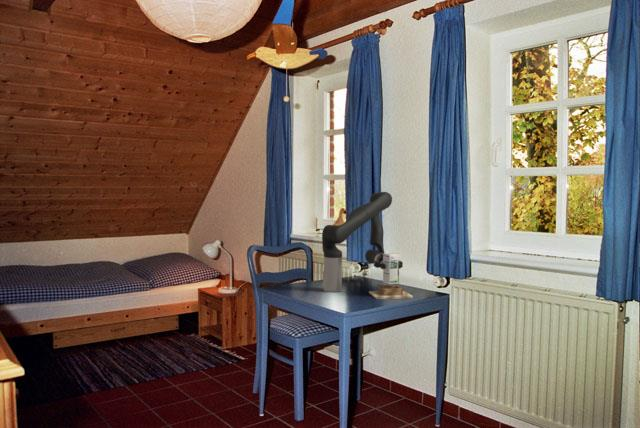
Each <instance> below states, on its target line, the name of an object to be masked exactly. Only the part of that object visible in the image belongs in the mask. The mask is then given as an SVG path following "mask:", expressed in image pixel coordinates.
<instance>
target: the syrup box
mask: <svg viewBox="0 0 640 428" xmlns="http://www.w3.org/2000/svg"><path fill="white" fill-rule="evenodd" d="M399 261H400V254H399V253H397V252H388V253H384V254H383V263H384V264H385V269H382V282H383V283H384V284H385V285H398V284H400V269H399Z"/></svg>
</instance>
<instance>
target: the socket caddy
mask: <svg viewBox="0 0 640 428" xmlns="http://www.w3.org/2000/svg"><path fill="white" fill-rule="evenodd" d="M377 287H378V288H377V289H378V290H369V291H368V293H369V295H371V296H372V297H373V298H374V299H375V300H383V299H384V300H388V299H393V300H395V299H413V298H414V297H413V295H411V294H410V293H409V292H407V291H405V290H404V288H403V287H401V286H399V285H398V284H390V285H389V284H385V285H383V284H382V285H381V284H380V285H378V286H377Z"/></svg>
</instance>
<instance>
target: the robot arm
mask: <svg viewBox="0 0 640 428" xmlns="http://www.w3.org/2000/svg"><path fill="white" fill-rule="evenodd" d="M392 202H393V196H392V195H391V193H389V192H388V191H387V192H386V191H381V192H374V193H372V194H371V196H370V197H369V202H367V203H364V204H361V205H360V206H358V207H356V208H354V209H353V210H352V211H350V213H349V214H348V216H347V220H346V221H345V222H344V223H342V224H340V225H336V224H335V225H334V224H327V225H325V226H324V227H323V229H322V231H321V232H322V233H321V240H322V241H321V243H322V247H321V248H322V252H323V270H322V290H323V292H327V293H329V292H330V293H339V292H341V291H342V290H343V284H342V283H343V281H342V279H343V277H342V276H343V272H342V271H343V269H342V268H343V252H342V250H341V249H339V248H338V247H337V245H338V244H342V243H343V242H344V241H346V240H347V239H348V238H349V237H350V236H351V235H352V234H353V233H354V232H355V231H357V230H358V229H359V228H360V227H362V226H363V225H365V224H366V223H367V222H369V221H370V237H369V238H370V239H369V244H370V245H371V246H372V247H375V248H376V249H370V248H369V249H367V250H366V252H365V253H364V258H365V260H366V262H367V263H369V264H373V267H375V268H377V269H378V268H379V269H381V270H383V269H385V264H384V263H383V254H385V249H384V244H383V243H384V234H385V233H384V232H385V231H384V227H383V225H382V223H381V219H380V213H381V212H382V211H385V210H386V209H388V208H390V206H391V205H392ZM403 263H404V262H403V261H402V260H399V270H400V269H401V268H403V267H404V266H403Z"/></svg>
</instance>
